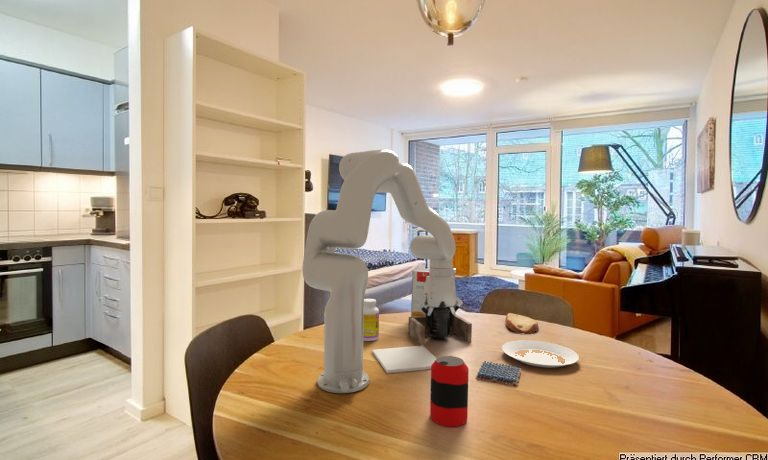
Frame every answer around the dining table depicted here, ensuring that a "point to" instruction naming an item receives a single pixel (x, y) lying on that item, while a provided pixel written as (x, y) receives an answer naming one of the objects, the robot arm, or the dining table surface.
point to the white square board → (404, 358)
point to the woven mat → (499, 373)
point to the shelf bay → (420, 328)
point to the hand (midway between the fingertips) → (439, 325)
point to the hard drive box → (419, 290)
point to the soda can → (449, 391)
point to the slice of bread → (521, 323)
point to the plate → (540, 358)
